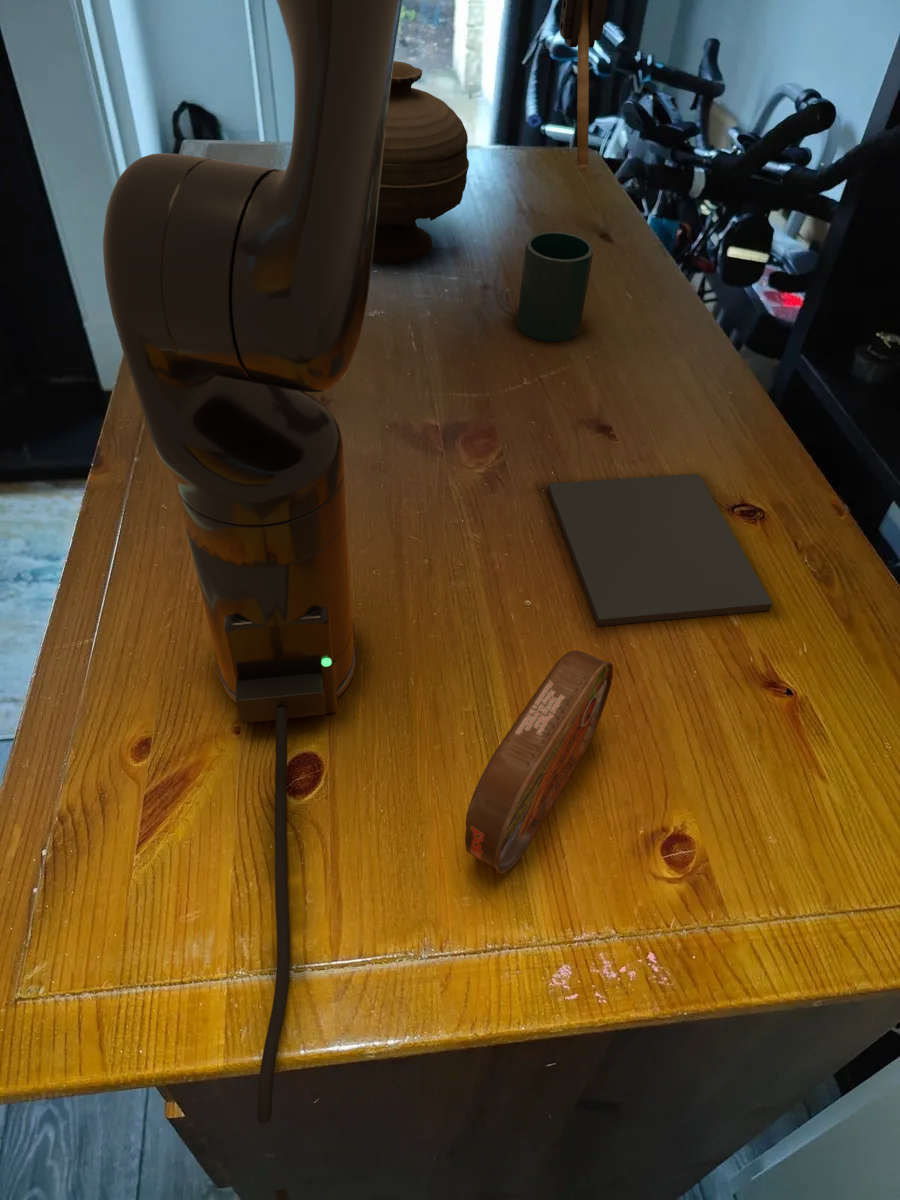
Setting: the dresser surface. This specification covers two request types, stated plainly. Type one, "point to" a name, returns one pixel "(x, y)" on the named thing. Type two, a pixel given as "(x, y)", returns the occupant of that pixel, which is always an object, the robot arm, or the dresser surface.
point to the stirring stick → (583, 90)
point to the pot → (417, 168)
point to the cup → (554, 285)
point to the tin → (536, 759)
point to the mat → (654, 550)
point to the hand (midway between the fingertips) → (579, 44)
